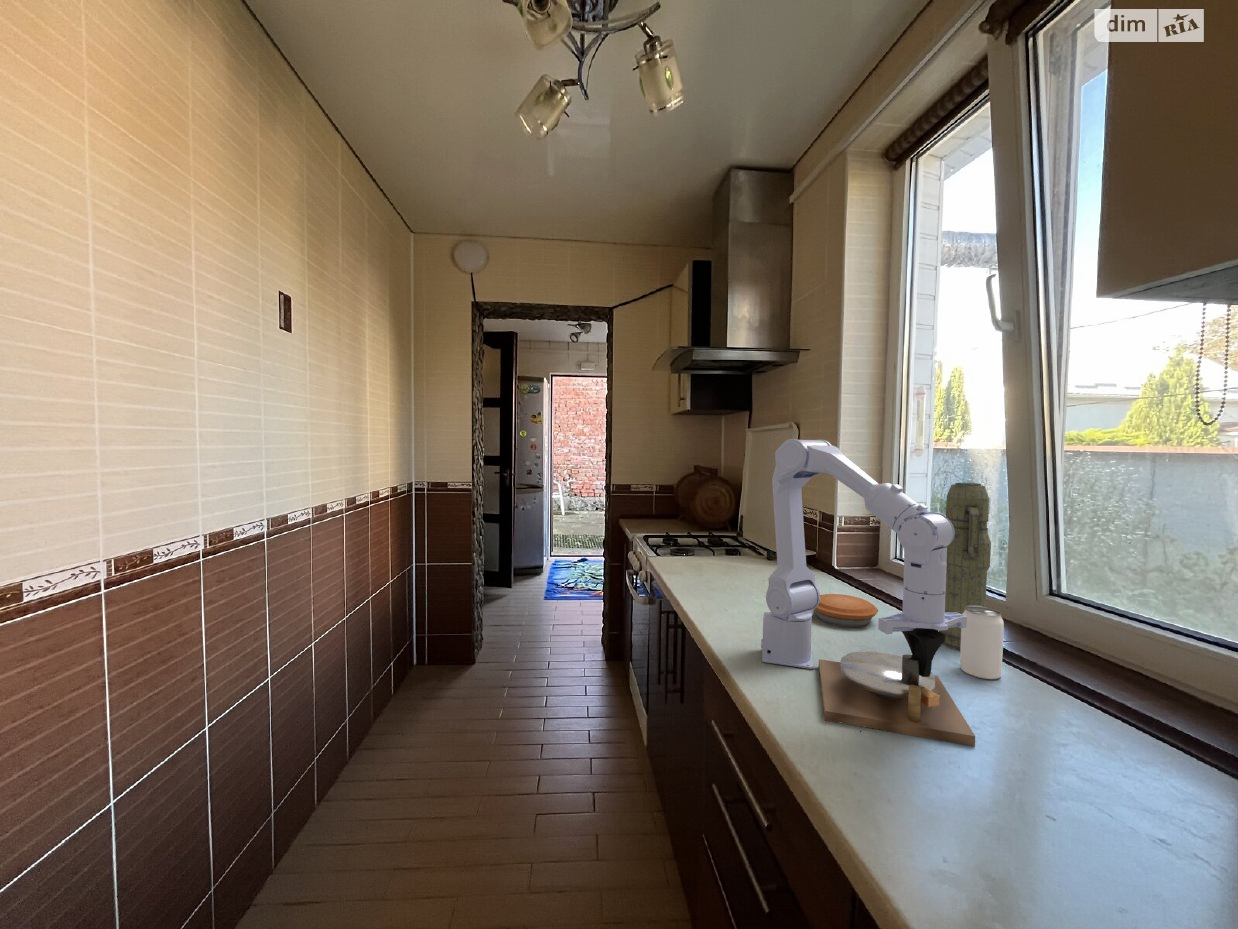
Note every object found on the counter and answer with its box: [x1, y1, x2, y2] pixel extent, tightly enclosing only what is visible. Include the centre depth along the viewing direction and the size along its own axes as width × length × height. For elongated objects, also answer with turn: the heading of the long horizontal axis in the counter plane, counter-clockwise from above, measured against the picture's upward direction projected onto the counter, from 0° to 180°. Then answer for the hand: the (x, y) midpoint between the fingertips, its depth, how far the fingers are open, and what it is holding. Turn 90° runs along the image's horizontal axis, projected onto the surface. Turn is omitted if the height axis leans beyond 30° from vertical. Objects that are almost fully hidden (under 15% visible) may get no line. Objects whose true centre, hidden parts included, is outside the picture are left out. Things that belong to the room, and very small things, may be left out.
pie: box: [814, 593, 880, 628], centre depth 125 cm, size 15×16×5 cm
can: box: [959, 606, 1005, 681], centre depth 96 cm, size 6×6×12 cm
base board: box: [818, 658, 976, 747], centre depth 85 cm, size 20×20×6 cm
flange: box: [840, 650, 940, 707], centre depth 84 cm, size 16×14×6 cm
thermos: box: [938, 482, 992, 651], centre depth 109 cm, size 9×12×35 cm
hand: (921, 674), depth 80 cm, fingers closed
